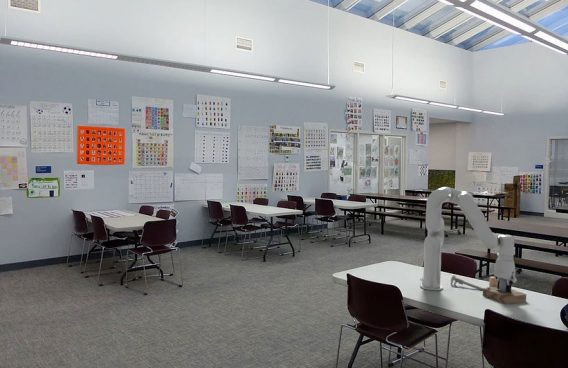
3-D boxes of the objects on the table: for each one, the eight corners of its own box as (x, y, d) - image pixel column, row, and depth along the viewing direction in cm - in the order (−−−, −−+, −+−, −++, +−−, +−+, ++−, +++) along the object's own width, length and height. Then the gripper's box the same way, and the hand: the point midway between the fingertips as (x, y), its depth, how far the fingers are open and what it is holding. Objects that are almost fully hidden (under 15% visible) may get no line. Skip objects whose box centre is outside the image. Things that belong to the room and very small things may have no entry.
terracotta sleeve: (487, 290, 252) (487, 276, 252) (492, 289, 254) (493, 276, 253) (493, 292, 248) (493, 278, 248) (499, 291, 250) (499, 278, 249)
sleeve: (496, 295, 240) (497, 277, 239) (503, 294, 241) (504, 276, 241) (504, 297, 235) (505, 279, 234) (511, 297, 237) (511, 279, 236)
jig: (482, 295, 243) (483, 286, 243) (501, 292, 248) (501, 284, 248) (506, 304, 228) (507, 295, 228) (526, 301, 233) (526, 292, 233)
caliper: (450, 285, 263) (451, 274, 263) (451, 284, 264) (451, 274, 264) (486, 291, 250) (487, 281, 250) (487, 291, 251) (487, 280, 251)
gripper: (488, 254, 243) (486, 286, 244) (513, 261, 228) (512, 295, 229) (498, 253, 246) (496, 285, 247) (524, 260, 230) (522, 294, 231)
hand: (504, 289), depth 238 cm, fingers closed on sleeve, 4 cm apart
